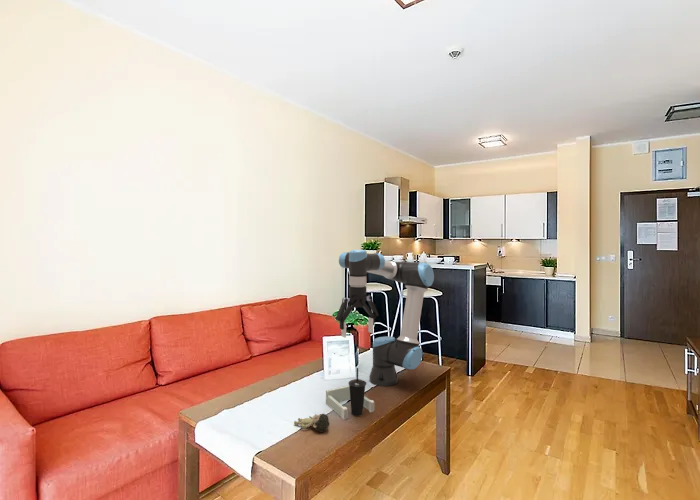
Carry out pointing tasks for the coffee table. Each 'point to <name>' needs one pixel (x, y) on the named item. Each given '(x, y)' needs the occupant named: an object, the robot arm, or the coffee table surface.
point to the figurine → (314, 422)
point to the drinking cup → (357, 395)
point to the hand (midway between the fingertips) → (357, 334)
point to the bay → (340, 395)
